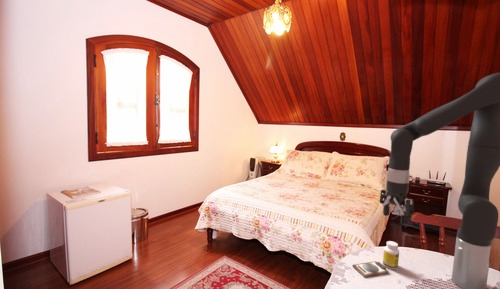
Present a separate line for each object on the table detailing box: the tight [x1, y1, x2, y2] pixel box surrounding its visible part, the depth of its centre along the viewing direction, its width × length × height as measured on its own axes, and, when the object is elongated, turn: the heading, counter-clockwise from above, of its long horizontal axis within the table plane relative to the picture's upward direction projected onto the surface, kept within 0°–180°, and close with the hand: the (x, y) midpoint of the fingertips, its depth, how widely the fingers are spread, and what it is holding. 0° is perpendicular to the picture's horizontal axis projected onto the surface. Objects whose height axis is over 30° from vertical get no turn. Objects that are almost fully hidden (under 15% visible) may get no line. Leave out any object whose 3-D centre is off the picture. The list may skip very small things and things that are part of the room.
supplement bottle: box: [382, 240, 400, 270], centre depth 102 cm, size 5×5×10 cm
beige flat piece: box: [352, 261, 390, 279], centre depth 100 cm, size 11×7×2 cm, turn 104°
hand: (394, 219), depth 100 cm, fingers open, 8 cm apart
